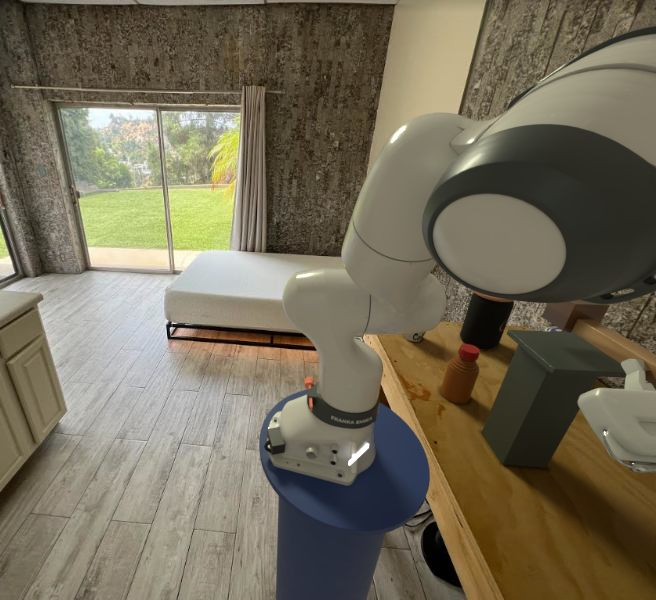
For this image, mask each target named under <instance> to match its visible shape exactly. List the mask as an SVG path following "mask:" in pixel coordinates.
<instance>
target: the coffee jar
mask: <svg viewBox="0 0 656 600" xmlns="http://www.w3.org/2000/svg"><path fill="white" fill-rule="evenodd" d="M473 292H474V293H472V295H471V297H470V300H469V304H468V307H467V310H466V314H465V316H464V319H463V323H462V326H461V329H460V333H459V336H460V339H461V341H462V343H463V344H470V345H473V346H476V347H477V348H479V350H480V351H491V350H494V349H496V348H497V347H499V345H500V343H501V341H502V337H503V334H504V332H505V329H506V328H507V324H508V322H509V320H510V317H511V314H512V312H513V310H514V306H515V300H508V299H502V298H496V297H491V296H488V295H484V294H481V293H478V292H476V291H473Z"/></svg>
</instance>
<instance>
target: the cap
mask: <svg viewBox="0 0 656 600" xmlns="http://www.w3.org/2000/svg"><path fill="white" fill-rule="evenodd" d="M480 352H481V350H480V349H479V348H477V347H476V346H473V345H470V344H465V343H462V344H460V346H459V349H458V352H457V356H460V357H461V358H463V359H465V360H469V361H476V362H477V360H478V359H479V356H480Z"/></svg>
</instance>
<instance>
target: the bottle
mask: <svg viewBox="0 0 656 600" xmlns="http://www.w3.org/2000/svg"><path fill="white" fill-rule="evenodd" d="M479 374H480V366H479V364H478V362H477V360H476V361H469V360H465V359H463V358H461V357H460V356H459V355H456V356H454V357H452V358H451V359H450V360H449V362H448V365H447V367H446V370H445V374H444V376H443V381H442V384H441V387H440V389H439V390H440V394H441V395H442V397H443V398H445V399H446V400H448V401H450V402H452V403H455V404H460V405H463V404H467V403H468V402H469V401H470V399H471V397H472V393H473V391H474V388H475V385H476V382H477V379H478V377H479Z"/></svg>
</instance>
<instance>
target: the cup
mask: <svg viewBox="0 0 656 600" xmlns="http://www.w3.org/2000/svg"><path fill="white" fill-rule="evenodd" d="M426 333H427V331H425V332H420V333H414V334H407V335H403V337H404V338H405V339H406V340H407V341H410V342H413V343H416V342H420V341H422V340H423V338H424V336H425V335H426Z"/></svg>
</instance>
